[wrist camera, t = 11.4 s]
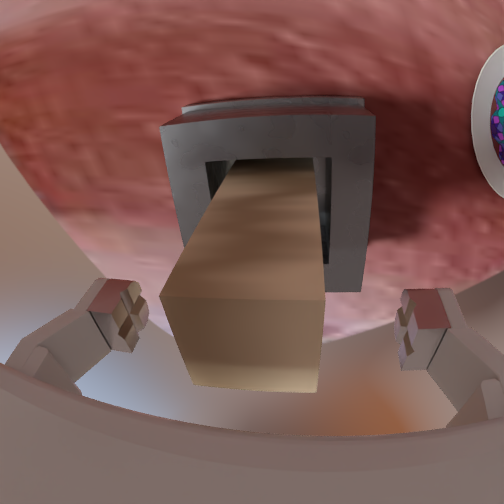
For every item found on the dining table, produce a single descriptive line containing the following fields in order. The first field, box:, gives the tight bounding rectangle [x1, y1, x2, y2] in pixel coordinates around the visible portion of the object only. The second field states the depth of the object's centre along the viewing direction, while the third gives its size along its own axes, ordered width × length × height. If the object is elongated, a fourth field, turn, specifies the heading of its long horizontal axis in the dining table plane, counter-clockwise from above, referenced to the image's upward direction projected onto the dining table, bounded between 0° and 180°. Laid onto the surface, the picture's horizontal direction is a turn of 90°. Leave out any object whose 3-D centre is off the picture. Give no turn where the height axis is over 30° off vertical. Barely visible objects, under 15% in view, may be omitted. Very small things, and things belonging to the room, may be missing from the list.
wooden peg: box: [159, 157, 325, 393], centre depth 13 cm, size 4×4×12 cm
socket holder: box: [159, 96, 376, 292], centre depth 17 cm, size 10×10×5 cm
